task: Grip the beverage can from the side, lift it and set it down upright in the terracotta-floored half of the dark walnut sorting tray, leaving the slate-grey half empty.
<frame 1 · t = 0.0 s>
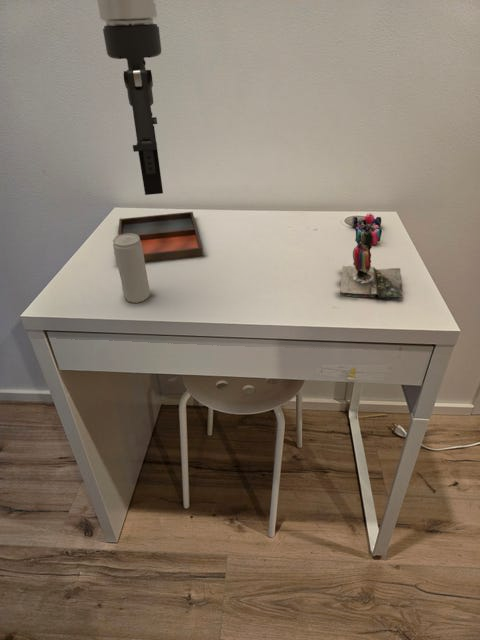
hand: (152, 178, 72), 21 cm above the table, tool pointing down, fingers open, 13 cm apart
statue: (370, 286, 84), on the table
sorting tray: (159, 240, 101), on the table
beverage can: (137, 297, 82), on the table
toy car: (368, 235, 101), on the table
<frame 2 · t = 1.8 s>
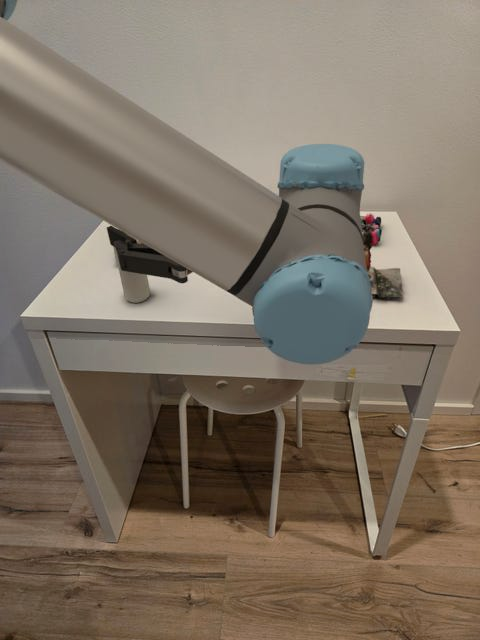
hand: (150, 220, 66), 18 cm above the table, tool horizontal, fingers open, 13 cm apart
nothing on the table moved.
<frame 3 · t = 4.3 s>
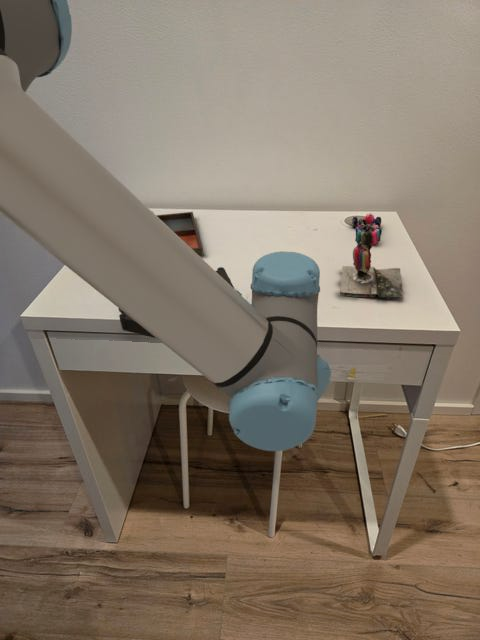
hand: (149, 278, 75), 7 cm above the table, tool horizontal, fingers open, 13 cm apart
nothing on the table moved.
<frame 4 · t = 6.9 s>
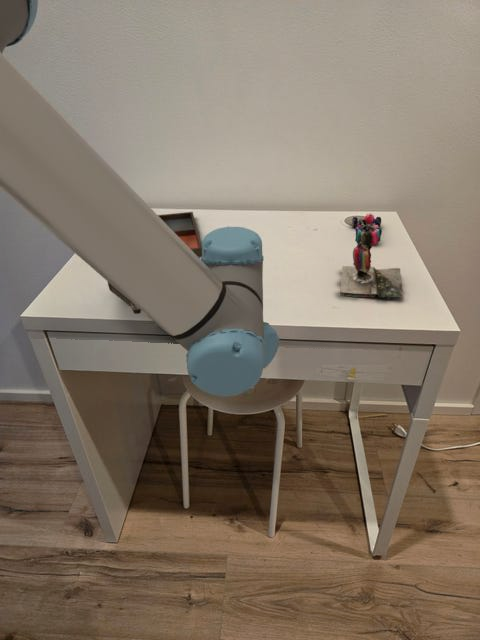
hand: (116, 256, 81), 7 cm above the table, tool horizontal, fingers closed on beverage can, 5 cm apart
beverage can: (137, 297, 82), on the table, touching gripper
everything else where it was.
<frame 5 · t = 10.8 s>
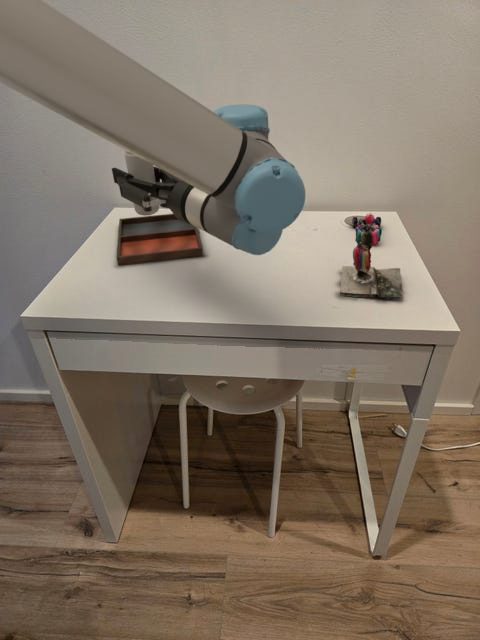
hand: (127, 171, 85), 18 cm above the table, tool horizontal, fingers closed on beverage can, 5 cm apart
beverage can: (147, 212, 86), point 11 cm above the table, touching gripper
everything else where it was.
when the fingers open (7 cm above the table, at t = 14.8 s): beverage can stays where it is, resting on sorting tray.
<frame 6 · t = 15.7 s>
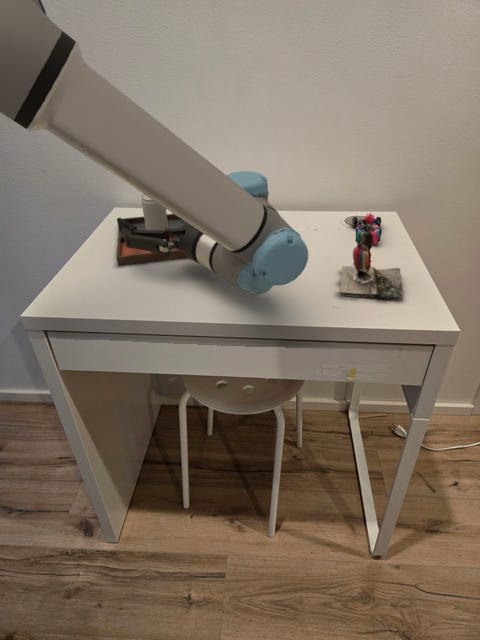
hand: (146, 214, 94), 7 cm above the table, tool horizontal, fingers open, 13 cm apart
beverage can: (160, 248, 97), resting on sorting tray
everything else where it was.
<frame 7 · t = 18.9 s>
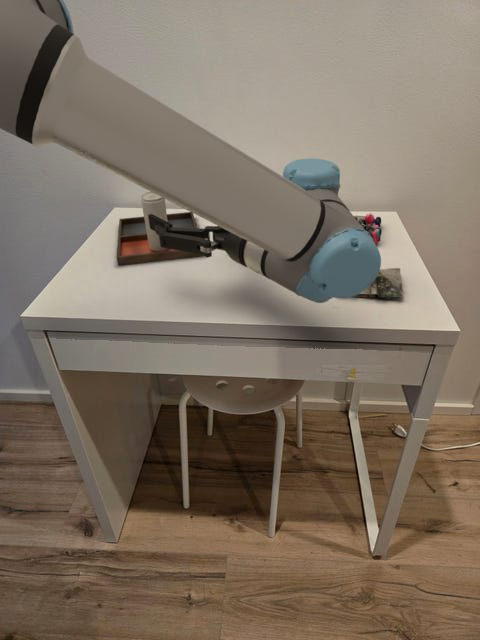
hand: (180, 210, 84), 12 cm above the table, tool horizontal, fingers open, 13 cm apart
nothing on the table moved.
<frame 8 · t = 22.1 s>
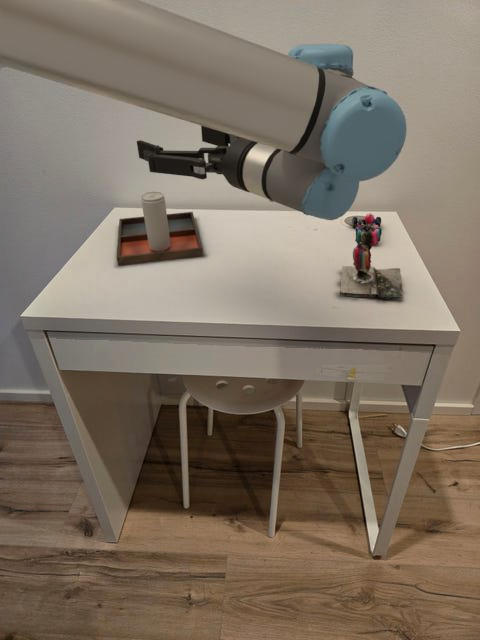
hand: (172, 140, 76), 25 cm above the table, tool horizontal, fingers open, 13 cm apart
nothing on the table moved.
at the end: beverage can inside the target area on the sorting tray (0.1 cm from its centre), point 0.3 cm above the sorting tray's base; beverage can tilted 0°; the gripper is holding nothing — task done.
